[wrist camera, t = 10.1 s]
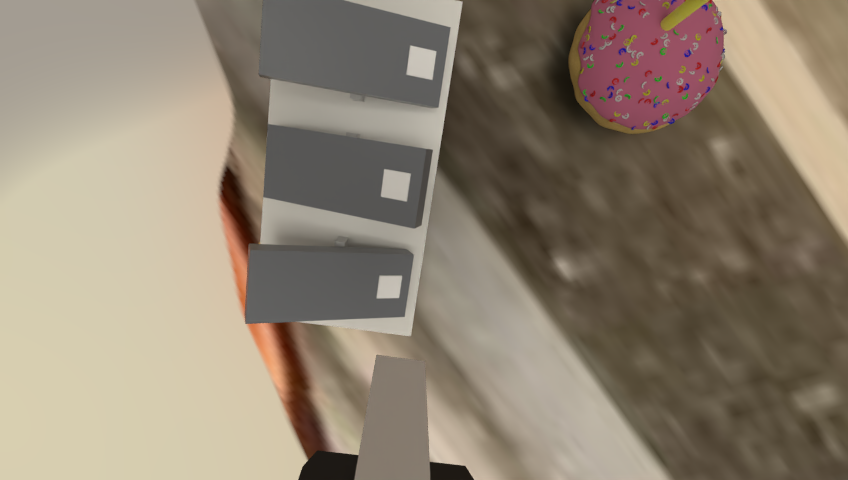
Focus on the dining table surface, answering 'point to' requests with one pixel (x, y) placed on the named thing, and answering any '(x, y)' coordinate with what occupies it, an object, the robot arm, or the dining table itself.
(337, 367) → the dining table surface
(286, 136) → the block
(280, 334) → the dining table surface
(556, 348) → the dining table surface
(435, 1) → the switch unit
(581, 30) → the cupcake
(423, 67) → the rocker
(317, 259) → the rocker
